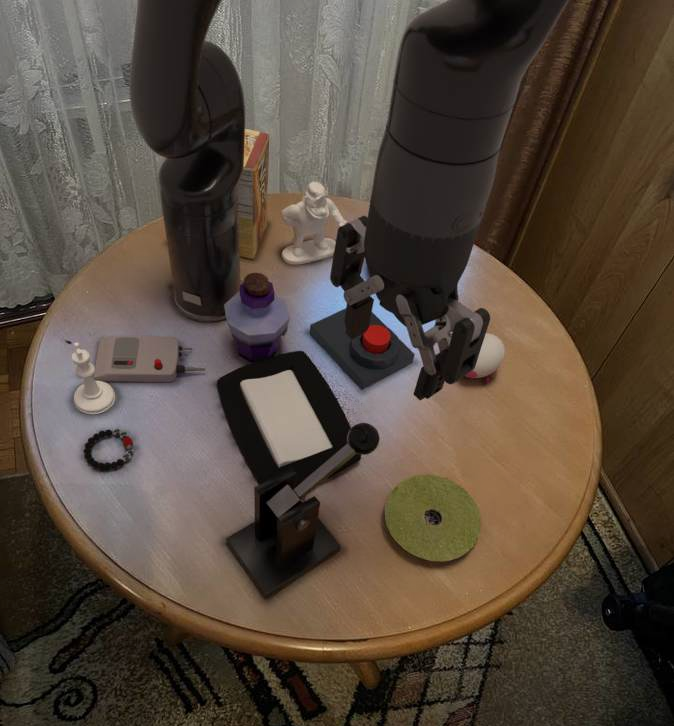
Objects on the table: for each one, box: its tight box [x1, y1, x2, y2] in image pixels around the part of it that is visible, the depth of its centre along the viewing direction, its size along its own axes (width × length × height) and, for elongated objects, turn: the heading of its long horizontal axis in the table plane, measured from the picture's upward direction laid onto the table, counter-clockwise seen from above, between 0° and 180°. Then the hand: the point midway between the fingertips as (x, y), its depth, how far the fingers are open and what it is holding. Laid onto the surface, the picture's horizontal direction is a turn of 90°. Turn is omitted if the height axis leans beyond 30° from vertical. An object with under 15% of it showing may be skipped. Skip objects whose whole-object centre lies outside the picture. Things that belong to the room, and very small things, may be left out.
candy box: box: [237, 128, 270, 260], centre depth 95 cm, size 9×4×15 cm, turn 171°
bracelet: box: [83, 428, 135, 471], centre depth 77 cm, size 6×6×1 cm
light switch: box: [216, 350, 362, 487], centre depth 81 cm, size 20×3×14 cm
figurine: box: [280, 181, 348, 266], centre depth 96 cm, size 9×7×12 cm
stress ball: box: [464, 331, 506, 383], centre depth 89 cm, size 8×8×7 cm
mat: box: [384, 473, 482, 562], centre depth 76 cm, size 11×11×2 cm
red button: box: [362, 325, 391, 354], centre depth 87 cm, size 4×4×2 cm
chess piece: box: [71, 341, 116, 415], centre depth 77 cm, size 5×5×10 cm
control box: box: [309, 307, 415, 390], centre depth 89 cm, size 12×9×4 cm
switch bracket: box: [225, 467, 342, 600], centre depth 68 cm, size 10×8×12 cm
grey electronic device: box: [93, 334, 206, 383], centre depth 84 cm, size 7×16×3 cm, turn 94°
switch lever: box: [266, 422, 380, 518], centre depth 65 cm, size 13×3×3 cm, turn 127°
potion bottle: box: [224, 272, 291, 363], centre depth 84 cm, size 9×9×12 cm
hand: (389, 362), depth 56 cm, fingers open, 8 cm apart
